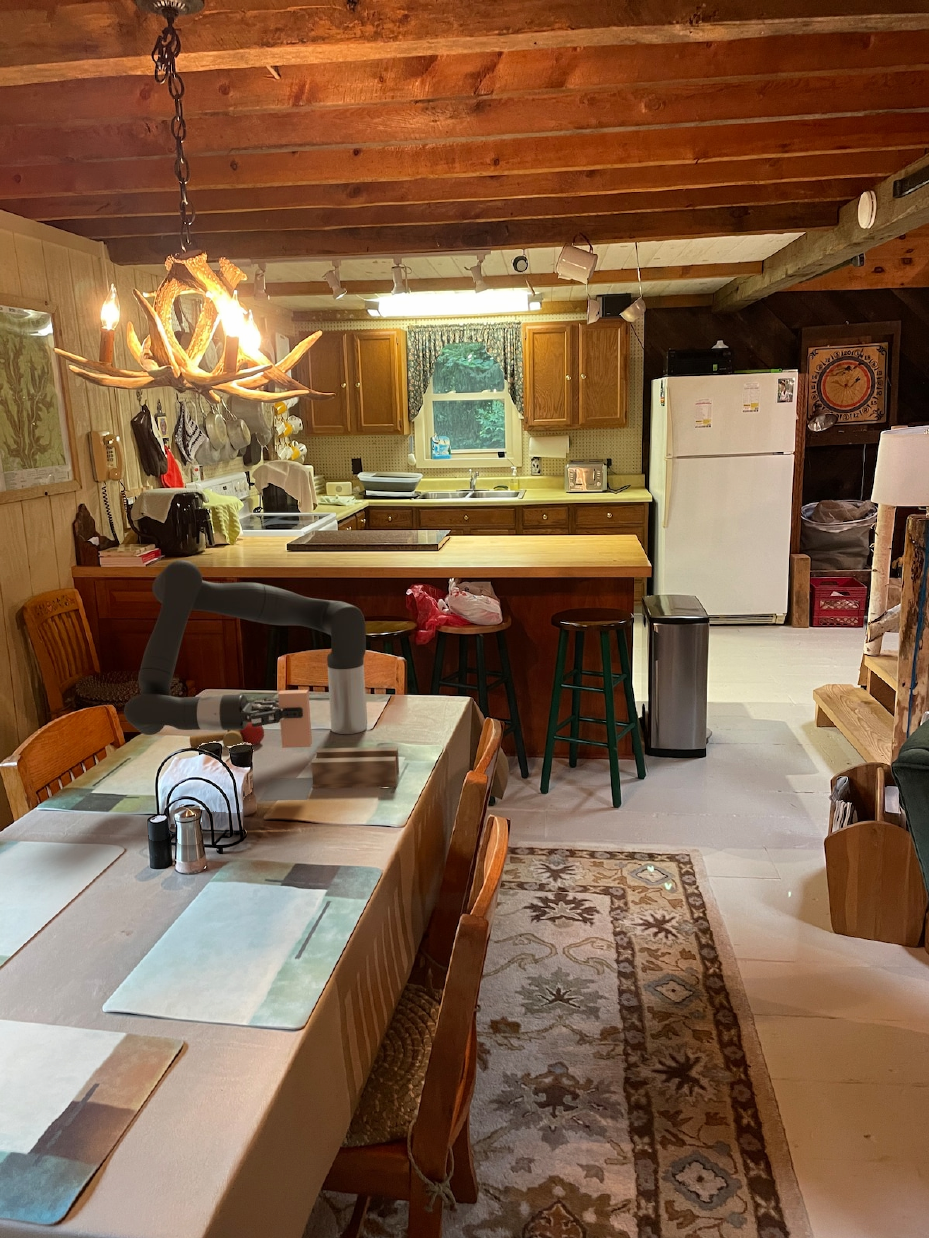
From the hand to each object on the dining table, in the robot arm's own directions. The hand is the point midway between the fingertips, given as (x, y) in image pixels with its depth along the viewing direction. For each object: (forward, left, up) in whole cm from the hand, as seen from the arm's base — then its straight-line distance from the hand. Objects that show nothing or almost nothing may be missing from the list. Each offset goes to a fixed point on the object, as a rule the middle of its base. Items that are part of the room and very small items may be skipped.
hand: (303, 710), depth 193 cm
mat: (+2, -4, -18) cm, 18 cm away
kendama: (-19, -33, -18) cm, 42 cm away
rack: (-7, +8, -18) cm, 21 cm away
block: (+1, -2, -8) cm, 8 cm away
